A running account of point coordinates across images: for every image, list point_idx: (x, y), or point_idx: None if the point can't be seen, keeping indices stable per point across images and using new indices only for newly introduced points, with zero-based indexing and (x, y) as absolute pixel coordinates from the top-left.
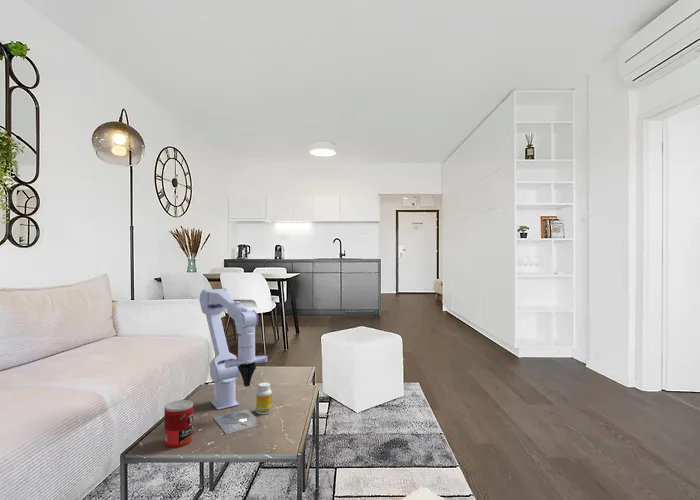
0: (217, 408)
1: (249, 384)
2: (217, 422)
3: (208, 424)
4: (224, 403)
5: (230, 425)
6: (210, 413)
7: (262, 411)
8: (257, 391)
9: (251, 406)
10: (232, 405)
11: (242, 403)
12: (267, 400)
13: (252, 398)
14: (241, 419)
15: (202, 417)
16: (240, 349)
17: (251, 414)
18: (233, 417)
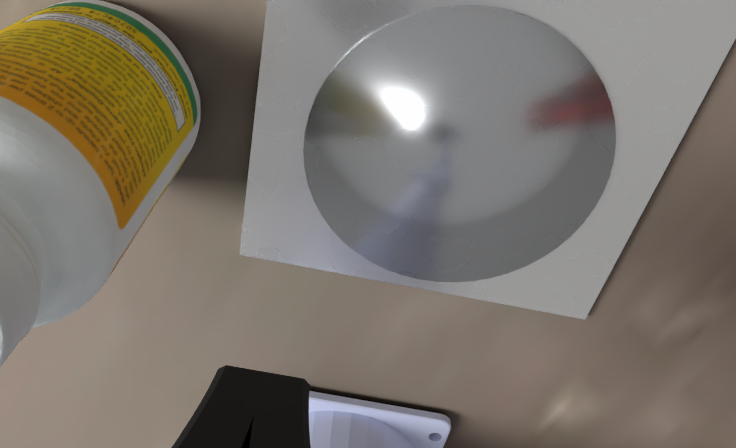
0: (449, 427)
1: (219, 387)
2: (652, 192)
3: (718, 226)
4: (382, 446)
5: (630, 13)
6: (531, 399)
7: (145, 35)
8: (81, 271)
9: (168, 295)
10: (317, 399)
11: None
12: (4, 50)
13: (88, 420)
14: (441, 63)
15: (630, 379)
16: None
17: (270, 113)
18: (469, 177)
